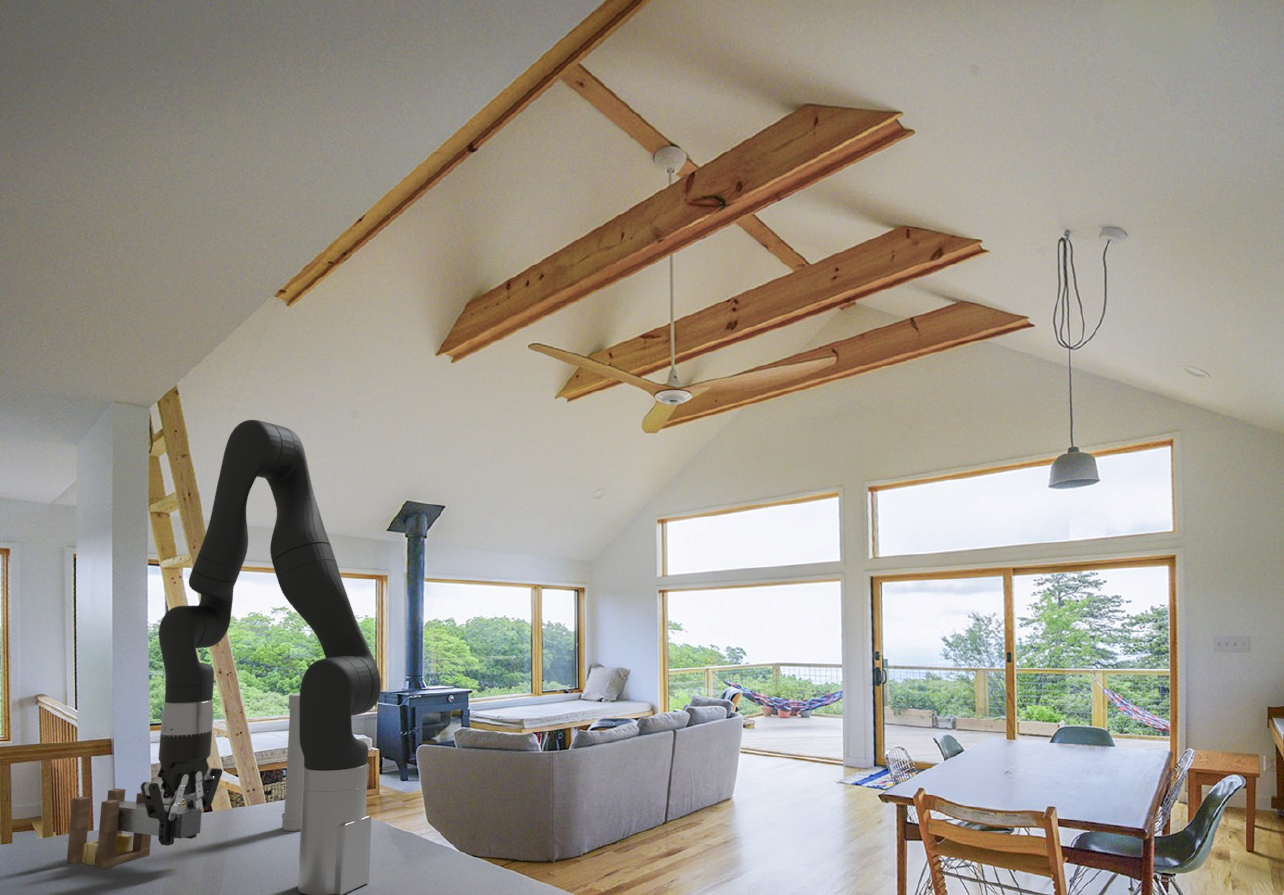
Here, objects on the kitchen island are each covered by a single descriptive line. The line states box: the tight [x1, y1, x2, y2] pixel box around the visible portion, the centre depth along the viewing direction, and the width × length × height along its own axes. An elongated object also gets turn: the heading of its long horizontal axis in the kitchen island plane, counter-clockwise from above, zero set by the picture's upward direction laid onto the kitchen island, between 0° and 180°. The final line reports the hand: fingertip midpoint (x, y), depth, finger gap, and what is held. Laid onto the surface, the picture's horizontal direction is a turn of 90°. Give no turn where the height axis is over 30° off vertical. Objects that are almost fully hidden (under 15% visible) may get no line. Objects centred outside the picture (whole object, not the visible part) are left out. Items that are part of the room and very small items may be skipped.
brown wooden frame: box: [66, 788, 152, 869], centre depth 146 cm, size 9×8×10 cm
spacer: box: [80, 833, 133, 866], centre depth 145 cm, size 3×7×3 cm
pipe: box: [281, 662, 304, 832], centre depth 165 cm, size 6×6×30 cm
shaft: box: [117, 800, 203, 840], centre depth 143 cm, size 18×4×4 cm, turn 68°
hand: (178, 840), depth 140 cm, fingers closed on shaft, 3 cm apart
